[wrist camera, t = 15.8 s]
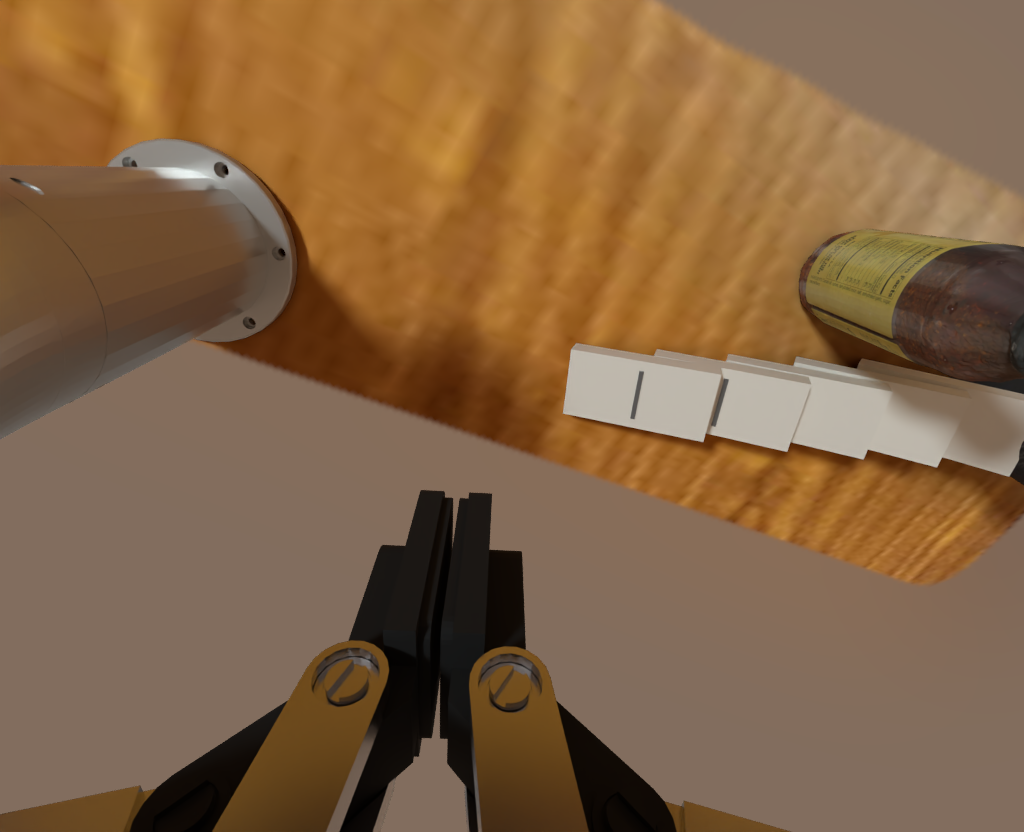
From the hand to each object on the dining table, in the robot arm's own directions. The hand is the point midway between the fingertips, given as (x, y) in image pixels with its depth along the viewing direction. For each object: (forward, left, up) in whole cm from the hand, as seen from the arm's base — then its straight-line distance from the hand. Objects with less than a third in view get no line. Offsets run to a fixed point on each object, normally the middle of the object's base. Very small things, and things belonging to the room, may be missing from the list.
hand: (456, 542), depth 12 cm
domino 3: (+17, -6, -25) cm, 31 cm away
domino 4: (+22, -6, -25) cm, 34 cm away
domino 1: (+6, -5, -25) cm, 26 cm away
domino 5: (+27, -6, -25) cm, 37 cm away
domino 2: (+12, -6, -25) cm, 28 cm away
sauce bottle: (+23, +3, -26) cm, 35 cm away
